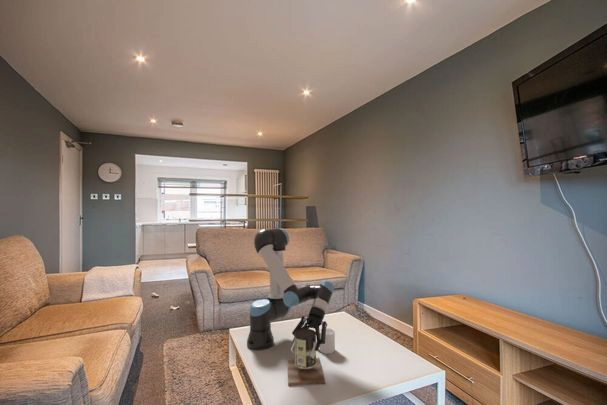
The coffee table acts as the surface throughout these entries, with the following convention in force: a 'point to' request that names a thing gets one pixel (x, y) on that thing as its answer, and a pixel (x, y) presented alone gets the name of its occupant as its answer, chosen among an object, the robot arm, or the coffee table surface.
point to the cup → (328, 342)
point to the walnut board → (305, 374)
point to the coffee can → (304, 348)
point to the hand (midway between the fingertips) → (301, 354)
